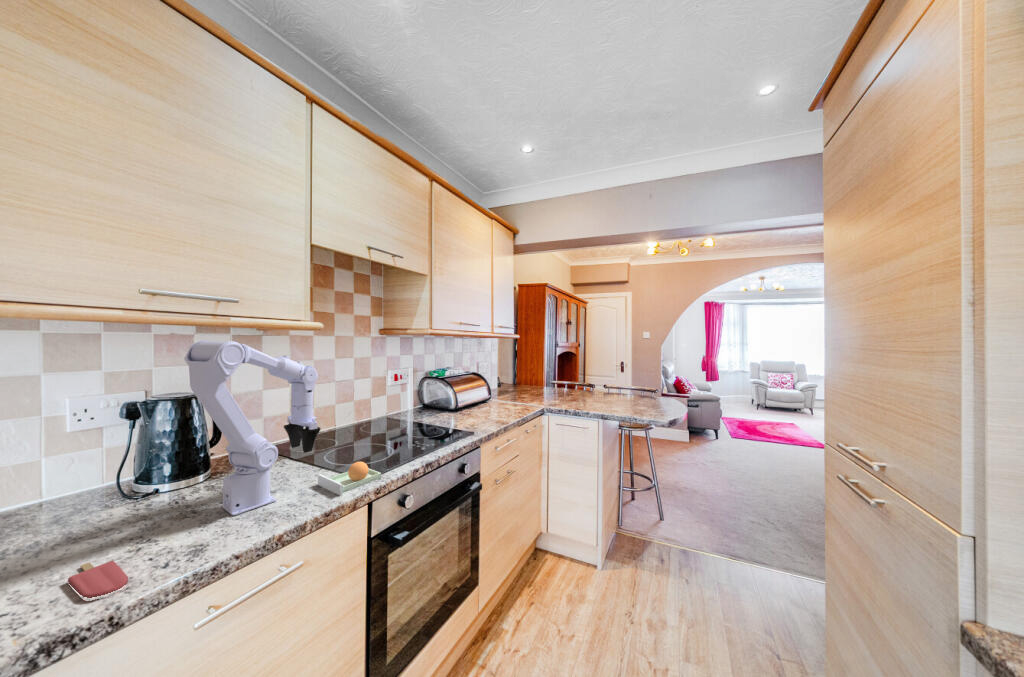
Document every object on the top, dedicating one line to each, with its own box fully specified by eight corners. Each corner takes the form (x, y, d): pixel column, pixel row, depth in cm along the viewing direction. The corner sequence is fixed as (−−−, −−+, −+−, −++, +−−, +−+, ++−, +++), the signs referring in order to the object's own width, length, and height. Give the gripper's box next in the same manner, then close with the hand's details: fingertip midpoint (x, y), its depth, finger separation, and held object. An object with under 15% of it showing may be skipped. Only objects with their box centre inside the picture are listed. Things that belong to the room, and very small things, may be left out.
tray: (344, 492, 95) (344, 486, 95) (326, 483, 100) (326, 478, 100) (381, 477, 105) (381, 472, 105) (363, 470, 110) (363, 466, 110)
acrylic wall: (340, 495, 93) (340, 484, 93) (317, 484, 100) (318, 474, 100) (342, 494, 93) (342, 484, 93) (319, 484, 100) (320, 474, 100)
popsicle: (106, 552, 66) (133, 579, 59) (106, 560, 66) (133, 588, 59) (61, 568, 61) (85, 599, 54) (61, 577, 61) (85, 609, 54)
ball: (349, 487, 99) (357, 476, 97) (342, 472, 101) (349, 460, 100) (366, 481, 104) (374, 470, 102) (359, 466, 106) (366, 455, 104)
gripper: (328, 405, 102) (327, 450, 102) (304, 400, 110) (303, 441, 110) (303, 409, 96) (302, 457, 96) (280, 403, 104) (279, 447, 104)
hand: (301, 449), depth 103 cm, fingers open, 7 cm apart
